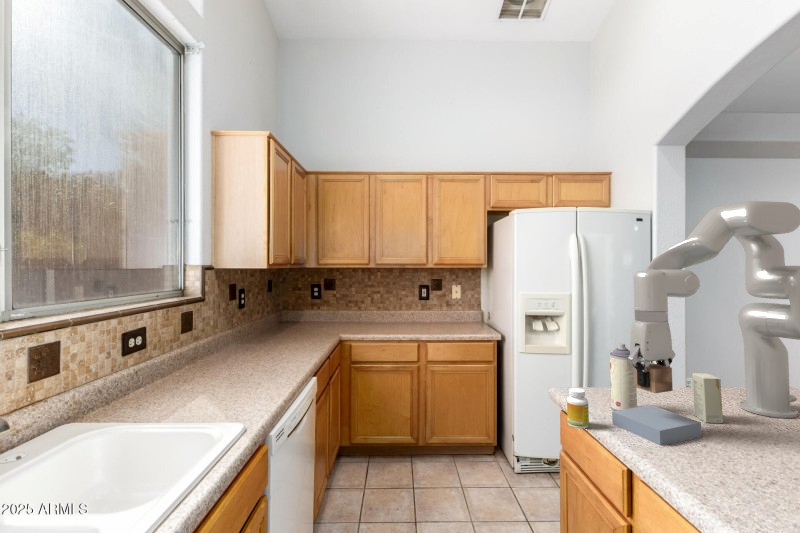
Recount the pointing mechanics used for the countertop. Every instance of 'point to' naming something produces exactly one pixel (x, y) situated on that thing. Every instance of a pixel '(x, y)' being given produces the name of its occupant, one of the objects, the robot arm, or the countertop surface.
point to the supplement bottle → (577, 409)
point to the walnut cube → (657, 378)
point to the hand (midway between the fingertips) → (653, 384)
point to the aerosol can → (622, 380)
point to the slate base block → (656, 424)
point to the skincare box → (707, 397)
